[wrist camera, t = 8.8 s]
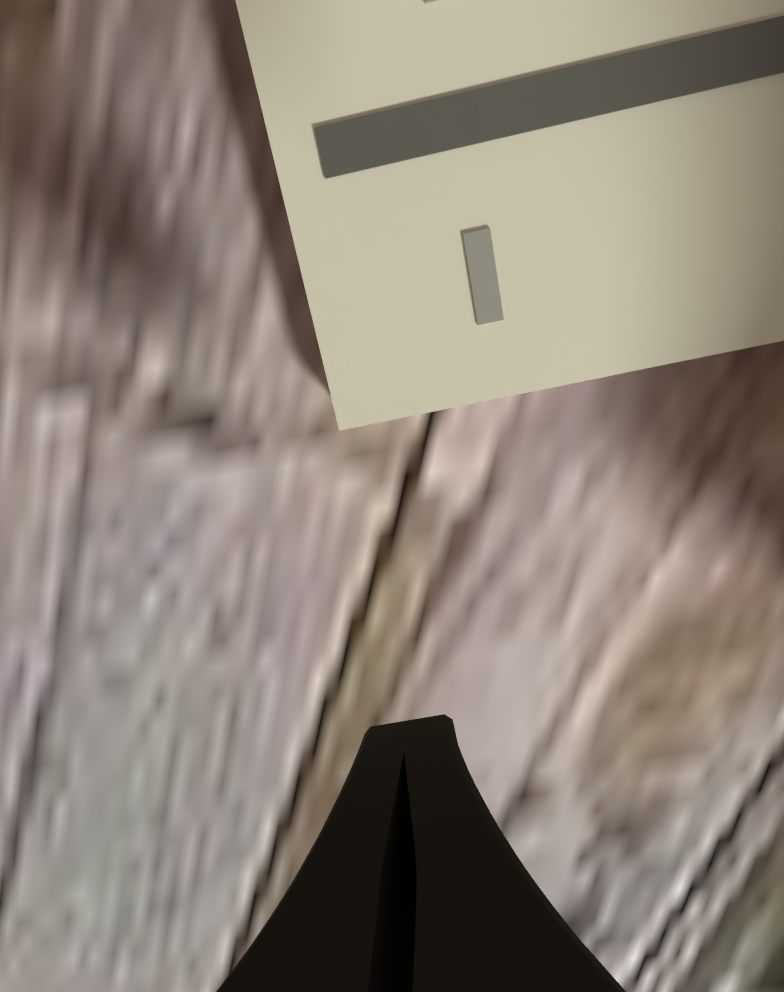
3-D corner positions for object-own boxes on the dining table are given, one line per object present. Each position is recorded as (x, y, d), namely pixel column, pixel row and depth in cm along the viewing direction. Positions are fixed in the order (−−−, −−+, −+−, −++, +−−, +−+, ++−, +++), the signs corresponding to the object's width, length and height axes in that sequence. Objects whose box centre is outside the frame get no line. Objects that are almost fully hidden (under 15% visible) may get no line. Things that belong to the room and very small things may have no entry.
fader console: (1225, -404, 13) (1371, -518, 11) (1131, 251, 17) (1226, 252, 15) (217, -131, 15) (188, -188, 13) (345, 411, 19) (339, 431, 17)
